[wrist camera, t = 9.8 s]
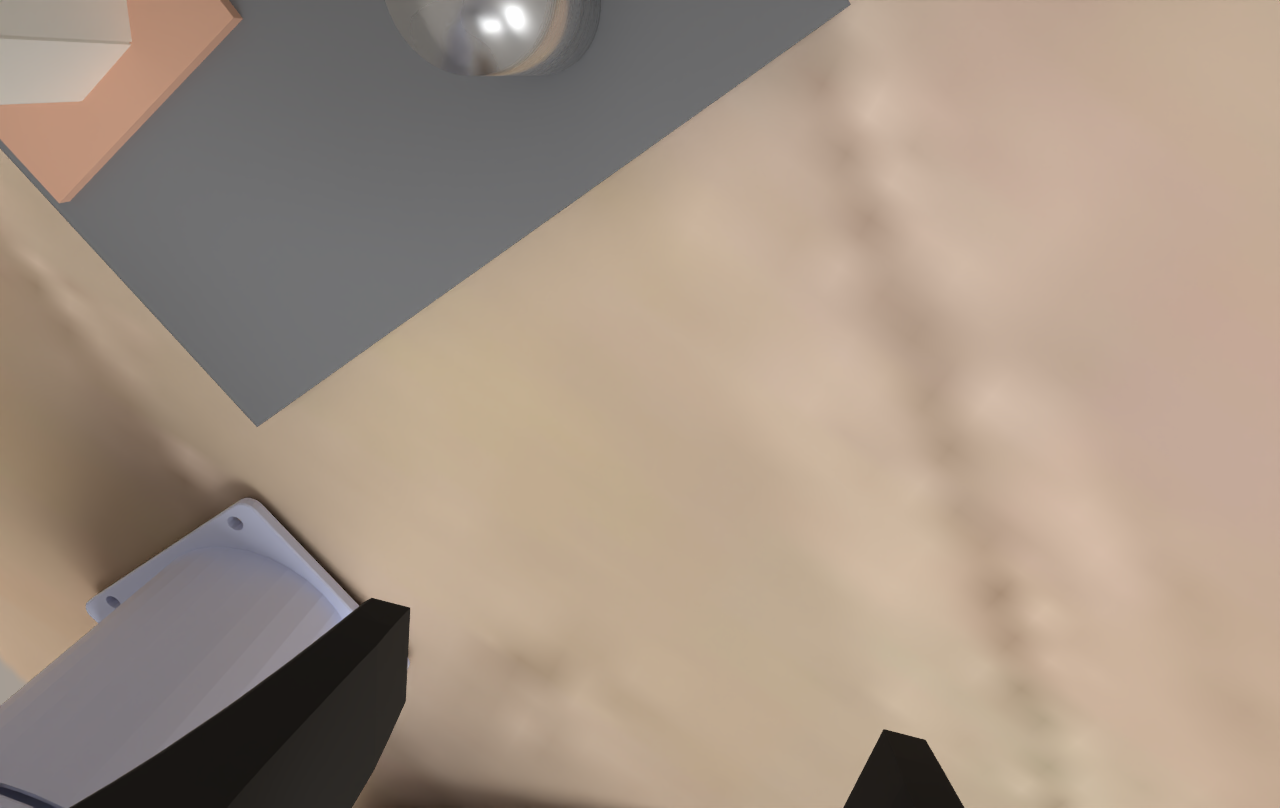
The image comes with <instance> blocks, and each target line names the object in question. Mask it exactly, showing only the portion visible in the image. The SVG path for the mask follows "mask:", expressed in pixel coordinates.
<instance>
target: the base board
mask: <svg viewBox="0 0 1280 808" xmlns="http://www.w3.org/2000/svg"><path fill="white" fill-rule="evenodd" d="M229 1H230V2H231V4H232V5H233V6H234V8H235V9H236V10H237V12H238V13H239V14H240V15H241V17H242V18H243V19H242V20H241V21H240V22H239V24H238V25H237V26H236V27H235V28H234V29H233V30H232V31H231V32H230V33H229V34H228V35H227V36H226V37H225V38H224V39H223V40H222V41H221V43H220V44H219V45H218V46H217V47H216V48H215V49H214V50H213V51H212V52H211V53H210V54H209V55H208V56H207V57H206V58H205V59H204V60H203V62H202V63H201V64H200V65H199V66H198V67H197V68H196V69H195V70H194V71H193V72H192V73H191V74H190V75H189V76H188V77H187V78H186V79H185V80H184V82H183V83H182V84H181V85H180V86H179V87H178V88H177V89H176V90H175V91H174V92H173V93H172V94H171V95H170V96H169V97H168V98H167V99H166V101H165V102H164V103H163V104H162V105H161V106H160V107H159V108H158V109H157V110H156V111H155V112H154V113H153V114H152V115H151V116H150V117H149V118H148V120H147V121H146V122H145V123H144V124H143V125H142V126H141V127H140V128H139V129H138V130H137V131H136V132H135V133H134V134H133V135H132V136H131V137H130V139H129V140H128V141H127V142H126V143H125V144H124V145H123V146H122V147H121V148H120V149H119V150H118V151H117V152H116V153H115V154H114V155H113V156H112V157H111V159H110V160H109V161H108V162H107V163H106V164H105V165H104V166H103V167H102V168H101V169H100V170H99V171H98V172H97V173H96V174H95V175H94V176H93V178H92V179H91V180H90V181H89V182H88V183H87V184H86V185H85V186H84V187H83V188H82V189H81V190H80V191H79V192H78V193H77V194H76V195H75V197H74V198H73V199H72V200H71V201H69V202H64V203H58V202H57V201H56V199H55V198H54V197H53V196H52V195H51V194H50V193H49V192H48V191H47V190H46V189H45V187H44V186H43V185H42V184H41V183H40V182H39V181H38V180H37V179H36V178H35V177H34V175H33V174H32V173H31V172H30V171H29V170H28V169H27V168H26V167H25V166H24V165H23V163H22V162H21V161H20V160H19V159H18V158H17V157H16V156H15V155H14V154H13V153H12V151H11V150H10V149H9V148H8V147H7V146H6V145H5V144H4V143H3V142H2V141H1V139H0V149H1V150H2V151H3V152H4V153H5V154H6V155H7V156H8V157H9V158H10V159H11V160H12V162H13V163H14V164H15V165H16V166H17V167H18V168H19V169H20V170H21V171H22V172H23V173H24V175H25V176H26V177H27V178H28V179H29V180H30V181H31V182H32V183H33V184H34V185H35V187H36V188H37V189H38V190H39V191H40V192H41V193H42V194H43V195H44V196H45V197H46V198H47V200H48V201H49V202H50V203H51V204H52V205H53V206H54V207H55V208H56V209H57V210H58V211H59V213H60V214H61V215H62V216H63V217H64V218H65V219H66V220H67V221H68V222H69V223H70V225H71V226H72V227H73V228H74V229H75V230H76V231H77V232H78V233H79V234H80V235H81V236H82V238H83V239H84V240H85V241H86V242H87V243H88V244H89V245H90V246H91V247H92V248H93V249H94V251H95V252H96V253H97V254H98V255H99V256H100V257H101V258H102V259H103V260H104V261H105V263H106V264H107V265H108V266H109V267H110V268H111V269H112V270H113V271H114V272H115V273H116V274H117V276H118V277H119V278H120V279H121V280H122V281H123V282H124V283H125V284H126V285H127V286H128V288H129V289H130V290H131V291H132V292H133V293H134V294H135V295H136V296H137V297H138V298H139V299H140V301H141V302H142V303H143V304H144V305H145V306H146V307H147V308H148V309H149V310H150V311H151V312H152V314H153V315H154V316H155V317H156V318H157V319H158V320H159V321H160V322H161V323H162V324H163V326H164V327H165V328H166V329H167V330H168V331H169V332H170V333H171V334H172V335H173V336H174V337H175V339H176V340H177V341H178V342H179V343H180V344H181V345H182V346H183V347H184V348H185V349H186V350H187V352H188V353H189V354H190V355H191V356H192V357H193V358H194V359H195V360H196V361H197V362H198V364H199V365H200V366H201V367H202V368H203V369H204V370H205V371H206V372H207V373H208V374H209V375H210V377H211V378H212V379H213V380H214V381H215V382H216V383H217V384H218V385H219V386H220V387H221V388H222V390H223V391H224V392H225V393H226V394H227V395H228V396H229V397H230V398H231V399H232V400H233V402H234V403H235V404H236V405H237V406H238V407H239V408H240V409H241V410H242V411H243V412H244V413H245V415H246V416H247V417H248V418H249V419H250V420H251V421H252V422H253V423H254V424H255V425H256V426H257V427H258V426H259V425H261V424H262V423H263V422H265V421H266V420H268V419H269V418H270V417H272V416H273V415H275V414H276V413H278V412H279V411H280V410H282V409H283V408H285V407H286V406H287V405H289V404H290V403H292V402H293V401H294V400H296V399H297V398H299V397H300V396H301V395H303V394H304V393H306V392H307V391H308V390H310V389H311V388H313V387H314V386H315V385H317V384H318V383H320V382H321V381H322V380H324V379H325V378H327V377H328V376H330V375H331V374H332V373H334V372H335V371H337V370H338V369H339V368H341V367H342V366H344V365H345V364H346V363H348V362H349V361H351V360H352V359H353V358H355V357H356V356H358V355H359V354H360V353H362V352H363V351H365V350H366V349H367V348H369V347H370V346H372V345H373V344H374V343H376V342H377V341H379V340H380V339H381V338H383V337H384V336H386V335H387V334H389V333H390V332H391V331H393V330H394V329H396V328H397V327H398V326H400V325H401V324H403V323H404V322H405V321H407V320H408V319H410V318H411V317H412V316H414V315H415V314H417V313H418V312H419V311H421V310H422V309H424V308H425V307H426V306H428V305H429V304H431V303H432V302H433V301H435V300H436V299H438V298H439V297H441V296H442V295H443V294H445V293H446V292H448V291H449V290H450V289H452V288H453V287H455V286H456V285H457V284H459V283H460V282H462V281H463V280H464V279H466V278H467V277H469V276H470V275H471V274H473V273H474V272H476V271H477V270H478V269H480V268H481V267H483V266H484V265H485V264H487V263H488V262H490V261H491V260H492V259H494V258H495V257H497V256H498V255H500V254H501V253H502V252H504V251H505V250H507V249H508V248H509V247H511V246H512V245H514V244H515V243H516V242H518V241H519V240H521V239H522V238H523V237H525V236H526V235H528V234H529V233H530V232H532V231H533V230H535V229H536V228H537V227H539V226H540V225H542V224H543V223H544V222H546V221H547V220H549V219H550V218H551V217H553V216H554V215H556V214H557V213H559V212H560V211H561V210H563V209H564V208H566V207H567V206H568V205H570V204H571V203H573V202H574V201H575V200H577V199H578V198H580V197H581V196H582V195H584V194H585V193H587V192H588V191H589V190H591V189H592V188H594V187H595V186H596V185H598V184H599V183H601V182H602V181H603V180H605V179H606V178H608V177H609V176H611V175H612V174H613V173H615V172H616V171H618V170H619V169H620V168H622V167H623V166H625V165H626V164H627V163H629V162H630V161H632V160H633V159H634V158H636V157H637V156H639V155H640V154H641V153H643V152H644V151H646V150H647V149H648V148H650V147H651V146H653V145H654V144H655V143H657V142H658V141H660V140H661V139H662V138H664V137H665V136H667V135H668V134H670V133H671V132H672V131H674V130H675V129H677V128H678V127H679V126H681V125H682V124H684V123H685V122H686V121H688V120H689V119H691V118H692V117H693V116H695V115H696V114H698V113H699V112H700V111H702V110H703V109H705V108H706V107H707V106H709V105H710V104H712V103H713V102H714V101H716V100H717V99H719V98H720V97H721V96H723V95H724V94H726V93H727V92H729V91H730V90H731V89H733V88H734V87H736V86H737V85H738V84H740V83H741V82H743V81H744V80H745V79H747V78H748V77H750V76H751V75H752V74H754V73H755V72H757V71H758V70H759V69H761V68H762V67H764V66H765V65H766V64H768V63H769V62H771V61H772V60H773V59H775V58H776V57H778V56H779V55H780V54H782V53H783V52H785V51H786V50H788V49H789V48H790V47H792V46H793V45H795V44H796V43H797V42H799V41H800V40H802V39H803V38H804V37H806V36H807V35H809V34H810V33H811V32H813V31H814V30H816V29H817V28H818V27H820V26H821V25H823V24H824V23H825V22H827V21H828V20H830V19H831V18H832V17H834V16H835V15H837V14H838V13H840V12H841V11H842V10H844V9H845V8H847V7H848V6H849V5H850V3H849V1H848V0H601V17H600V22H599V27H598V30H597V33H596V36H595V38H594V40H593V42H592V44H591V46H590V47H589V49H588V51H587V52H586V53H585V54H584V56H583V57H582V58H581V59H580V60H579V61H578V62H577V63H576V64H574V65H573V66H571V67H570V68H568V69H566V70H564V71H562V72H559V73H556V74H552V75H546V76H463V75H457V74H453V73H450V72H447V71H444V70H442V69H440V68H438V67H436V66H434V65H432V64H431V63H429V62H428V61H426V60H425V59H424V58H422V57H421V56H420V55H419V54H418V53H417V52H416V51H415V50H414V49H413V48H412V47H411V46H410V45H409V44H408V43H407V41H406V40H405V39H404V38H403V36H402V35H401V33H400V32H399V30H398V29H397V27H396V25H395V23H394V21H393V19H392V17H391V15H390V13H389V10H388V7H387V5H386V2H385V0H229Z"/></svg>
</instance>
